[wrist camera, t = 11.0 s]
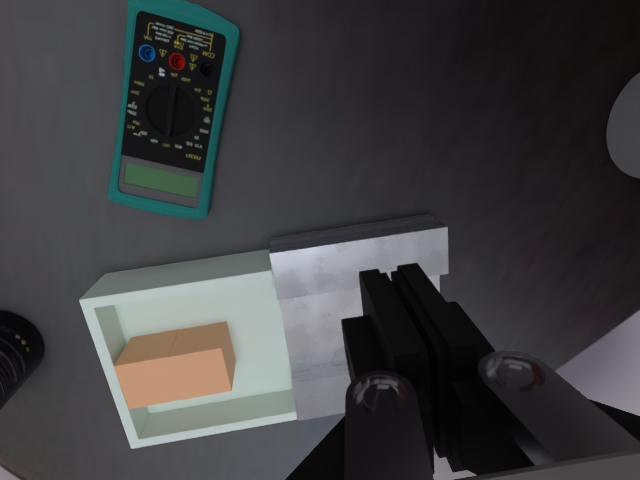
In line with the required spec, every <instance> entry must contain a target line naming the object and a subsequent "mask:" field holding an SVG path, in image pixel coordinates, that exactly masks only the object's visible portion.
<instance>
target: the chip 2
mask: <svg viewBox="0 0 640 480" xmlns="http://www.w3.org/2000/svg"><path fill="white" fill-rule="evenodd" d="M168 360H169V363H170V366H171V369H172V373H173V376H174V379H175V383H176V386H177V389H178V392H179V396H180V399H181V400H185V399H190V398H195V397H201V396H206V395H212V394H217V393H223V392H228V391H232V386H233V379H234V372H235V365H236V358H235V354H234V350H233V346H232V342H231V337H230V333H229V329H228V325H227V321H225V322H220V323H214V324H208V325H202V326H197V327H191V328H185V329H179V331H178V334H177V336H176V339H175V341H174V344H173V346H172V348H171V351H170V353H169V356H168Z"/></svg>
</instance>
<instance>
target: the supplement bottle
mask: <svg viewBox="0 0 640 480" xmlns="http://www.w3.org/2000/svg"><path fill="white" fill-rule="evenodd" d="M42 353H43V347H42V342H41V339H40V337H39V335H38V333H37V332H36V330H35V329H34V328H33V327H32V326H31V325H30V324H29V323H27V322H26V321H25V320H23V319H21V318H19V317H17V316H15V315H12V314H8V313H4V312H0V410H1V409H2V408H3V406H4V405H5V404H6V403H7V402H8V401H9V399H10V398H11V397H12V396H13V395H14V394H15V392H16V391H17V390H18V389H19V388H20V387H21V386H22V384H23V383H24V382H25V381H26V380H27V379H28V377H29V376H30V375H31V374H32V373H33V371H34V370H35V369H36V368H37V366H38V365H39V363H40V361H41V358H42Z"/></svg>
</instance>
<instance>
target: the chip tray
mask: <svg viewBox="0 0 640 480" xmlns="http://www.w3.org/2000/svg"><path fill="white" fill-rule="evenodd" d="M79 301H80V304H81V307H82V310H83V313H84V315H85V318H86V321H87V324H88V327H89V330H90V332H91V335H92V338H93V341H94V344H95V347H96V350H97V352H98V355H99V358H100V361H101V364H102V367H103V369H104V372H105V375H106V378H107V381H108V384H109V387H110V389H111V392H112V395H113V398H114V401H115V404H116V406H117V409H118V412H119V415H120V418H121V421H122V424H123V426H124V429H125V432H126V435H127V438H128V441H129V443H130V446H131V449H133V448H139V447H144V446H150V445H155V444H161V443H167V442H172V441H178V440H184V439H189V438H195V437H200V436H206V435H212V434H217V433H223V432H229V431H234V430H240V429H246V428H251V427H257V426H262V425H268V424H274V423H279V422H285V421H291V420H296V419H297V411H296V406H295V400H294V394H293V388H292V380H291V368H290V362H289V356H288V350H287V344H286V339H285V333H284V327H283V321H282V315H281V309H280V304H279V301H277V296H276V290H275V284H274V278H273V272H272V267H271V261H270V255H269V249H265V250H258V251H251V252H245V253H238V254H231V255H225V256H218V257H211V258H205V259H198V260H191V261H185V262H178V263H171V264H165V265H158V266H151V267H145V268H138V269H131V270H125V271H118V272H111V273H105V274H104V275H103V276H102V277H101V278H100V279H99V280H98V281H97V282H96V283H95V284H94V285H93V286H92V287H91V288H90V289H89V290H88V291H87V292H86V293H85V294H84V295H83V297H82V298H81V299H80V300H79ZM225 321H227V325H228V329H229V333H230V337H231V342H232V346H233V350H234V354H235V358H236V365H235V372H234V379H233V386H232V391H228V392H223V393H217V394H212V395H206V396H201V397H195V398H190V399H185V400H177V401H171V402H166V403H160V404H155V405H149V406H144V407H139V408H133V409H129V408H128V405H127V402H126V399H125V397H124V394H123V391H122V388H121V386H120V383H119V380H118V377H117V374H116V372H115V369H114V365H115V363H116V362H117V360H118V358H119V357H120V355H121V353H122V352H123V350H124V348H125V347H126V345H127V344H128V342H129V340H130V339H131V337H136V336H142V335H148V334H154V333H160V332H165V331H171V330H177V329H185V328H191V327H197V326H202V325H208V324H214V323H220V322H225Z"/></svg>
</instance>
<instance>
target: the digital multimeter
mask: <svg viewBox="0 0 640 480" xmlns="http://www.w3.org/2000/svg"><path fill="white" fill-rule="evenodd" d="M169 18H170V19H169ZM176 20H177V21H176ZM200 27H201V28H200ZM207 29H208V30H207ZM240 39H241V35H240V32H239V29H238V28H237V26H236V25H234V24H233V23H231V22H229V21H228V20H226V19H224V18H222V17H221V16H219V15H217V14H216V13H214V12H212V11H209V10H207V9H205V8H203V7H201V6H199V5H197V4H194V3H191V2H187V1H184V0H128V9H127V28H126V46H125V59H124V72H123V85H122V97H121V105H120V113H119V121H118V129H117V137H116V144H115V151H114V157H113V163H112V169H111V175H110V182H109V188H108V198H109V199H110V200H111V201H113V202H116V203H120V204H123V205H127V206H130V207H134V208H137V209H141V210H145V211H149V212H154V213H159V214H164V215H170V216H176V217H183V218H192V219H204V218H205V217H206V215H207V214H208V212H209V210H210V204H211V196H212V189H213V181H214V173H215V166H216V159H217V153H218V147H219V141H220V134H221V128H222V122H223V117H224V112H225V107H226V102H227V97H228V93H229V88H230V83H231V78H232V73H233V69H234V65H235V60H236V56H237V52H238V47H239V43H240ZM225 46H226V47H225ZM224 52H225V53H224ZM223 58H224V59H223ZM222 63H223V65H222ZM221 69H222V70H221ZM220 75H221V76H220ZM219 81H220V82H219ZM158 83H159V84H158ZM218 87H219V88H218ZM192 95H193V96H192ZM143 98H144V99H143ZM195 100H196V101H195ZM215 104H216V105H215ZM214 110H215V111H214ZM198 112H199V114H198ZM151 129H152V130H153V131H152V130H151ZM161 136H162V137H161ZM209 139H210V140H209ZM208 145H209V146H208ZM188 206H189V207H188ZM192 207H193V208H192Z"/></svg>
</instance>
